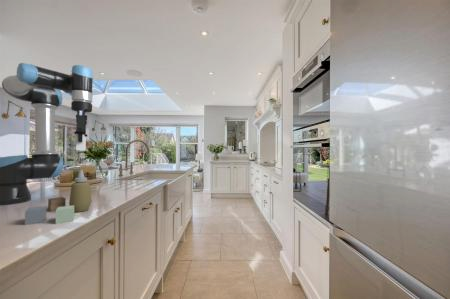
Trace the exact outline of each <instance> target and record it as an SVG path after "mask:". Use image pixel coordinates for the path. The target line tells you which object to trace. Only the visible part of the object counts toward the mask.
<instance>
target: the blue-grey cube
mask: <svg viewBox="0 0 450 299" xmlns="http://www.w3.org/2000/svg"><path fill="white" fill-rule="evenodd" d="M46 220H47V206H46V205H43V206H33V207H28V208H27V209H26V210H25V211H24V226H27V225H35V224H37V225H38V224H44V222H45V221H46Z"/></svg>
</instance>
